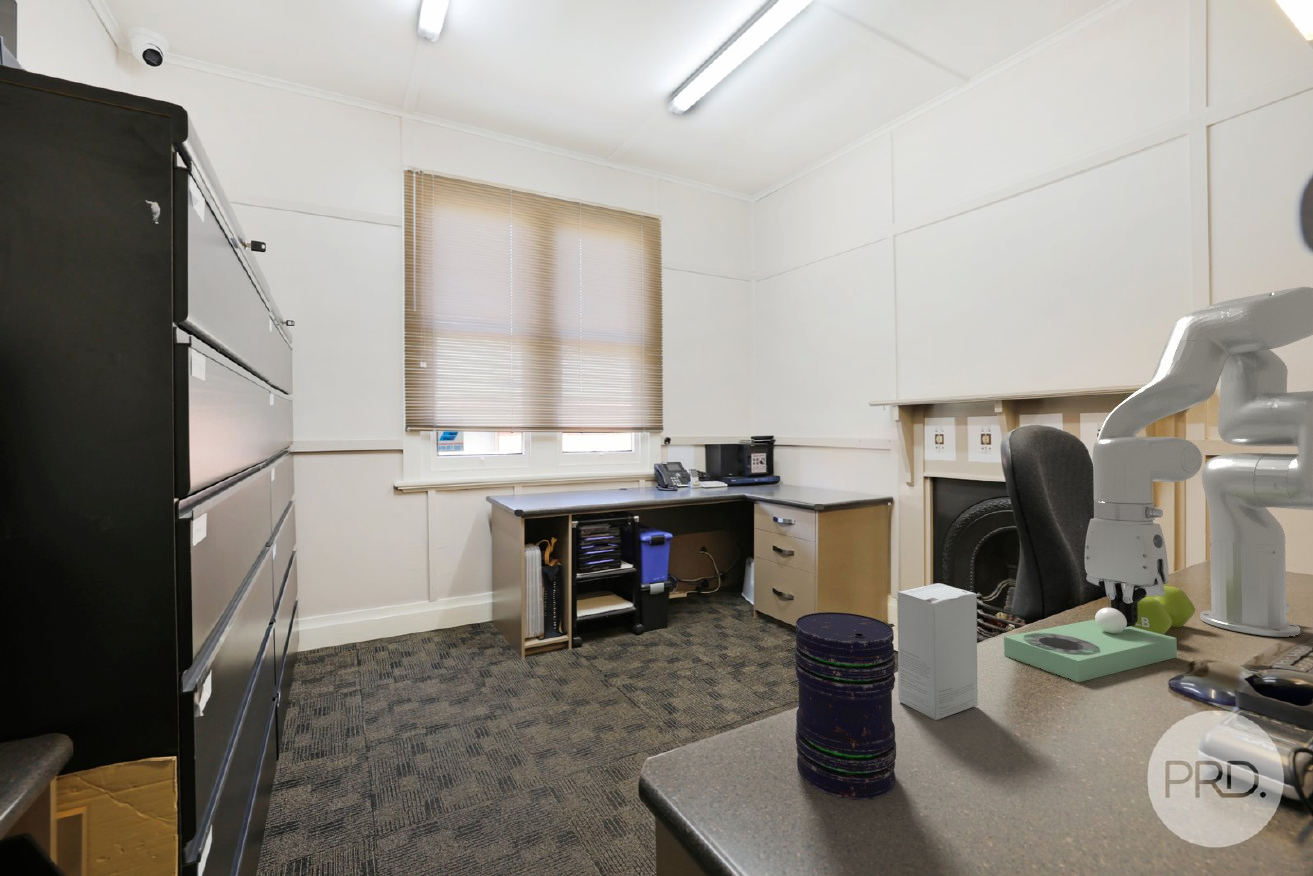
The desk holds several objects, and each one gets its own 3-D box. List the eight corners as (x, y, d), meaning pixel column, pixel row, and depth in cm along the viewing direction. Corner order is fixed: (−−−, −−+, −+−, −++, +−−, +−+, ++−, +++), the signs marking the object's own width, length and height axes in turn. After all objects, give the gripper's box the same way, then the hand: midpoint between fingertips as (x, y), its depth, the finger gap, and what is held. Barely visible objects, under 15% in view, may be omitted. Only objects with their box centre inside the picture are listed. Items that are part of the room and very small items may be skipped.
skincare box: (939, 690, 77) (937, 581, 78) (981, 708, 72) (979, 591, 72) (895, 702, 74) (894, 588, 74) (936, 723, 68) (934, 599, 68)
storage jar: (779, 751, 62) (778, 615, 62) (859, 740, 64) (858, 609, 65) (826, 808, 52) (825, 646, 53) (918, 792, 55) (916, 637, 55)
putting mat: (1099, 635, 99) (1099, 618, 99) (1176, 657, 89) (1176, 638, 89) (1004, 655, 90) (1004, 636, 90) (1078, 682, 80) (1078, 661, 80)
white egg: (1106, 624, 94) (1102, 601, 94) (1134, 631, 90) (1130, 607, 90) (1091, 632, 93) (1087, 609, 92) (1119, 640, 89) (1115, 616, 89)
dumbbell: (1143, 618, 109) (1142, 580, 109) (1199, 629, 102) (1198, 589, 103) (1109, 633, 100) (1108, 593, 100) (1167, 647, 94) (1166, 603, 94)
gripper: (1192, 517, 87) (1194, 636, 87) (1088, 507, 101) (1089, 610, 101) (1164, 519, 85) (1166, 642, 84) (1060, 509, 98) (1061, 615, 98)
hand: (1124, 624), depth 93 cm, fingers closed
